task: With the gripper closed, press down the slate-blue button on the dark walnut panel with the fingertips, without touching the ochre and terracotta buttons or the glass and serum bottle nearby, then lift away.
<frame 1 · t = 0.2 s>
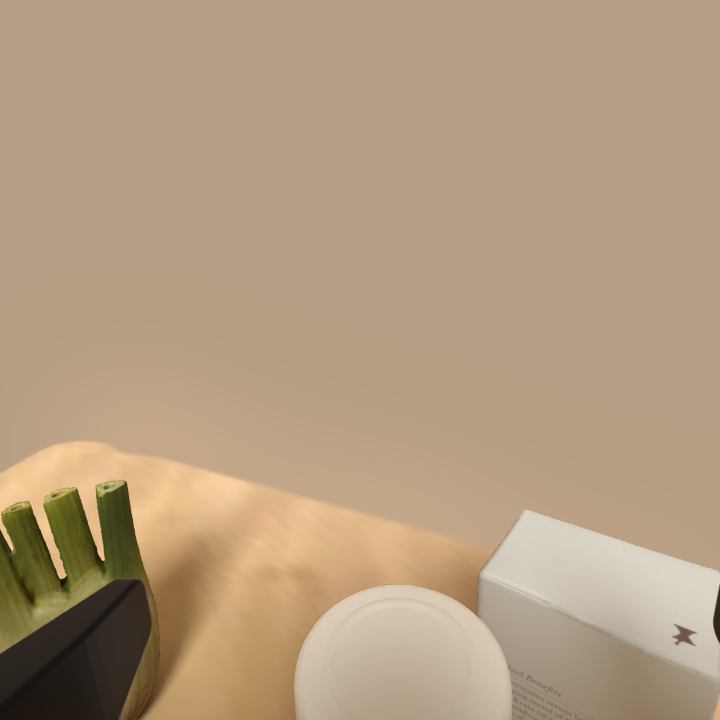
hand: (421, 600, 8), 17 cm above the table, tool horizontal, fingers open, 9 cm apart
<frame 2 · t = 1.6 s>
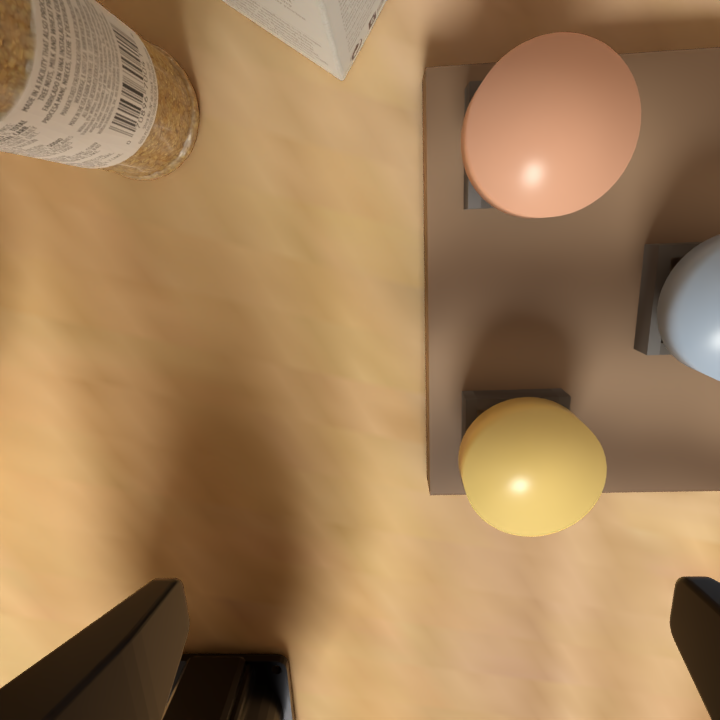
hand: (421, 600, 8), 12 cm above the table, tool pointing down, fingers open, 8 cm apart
sprinkles bottle: (144, 117, 17), on the table
terracotta button: (540, 136, 13), point 3 cm above the table, slide at 0.0 cm
board: (585, 293, 18), on the table
ochre button: (524, 459, 16), point 3 cm above the table, slide at 0.0 cm
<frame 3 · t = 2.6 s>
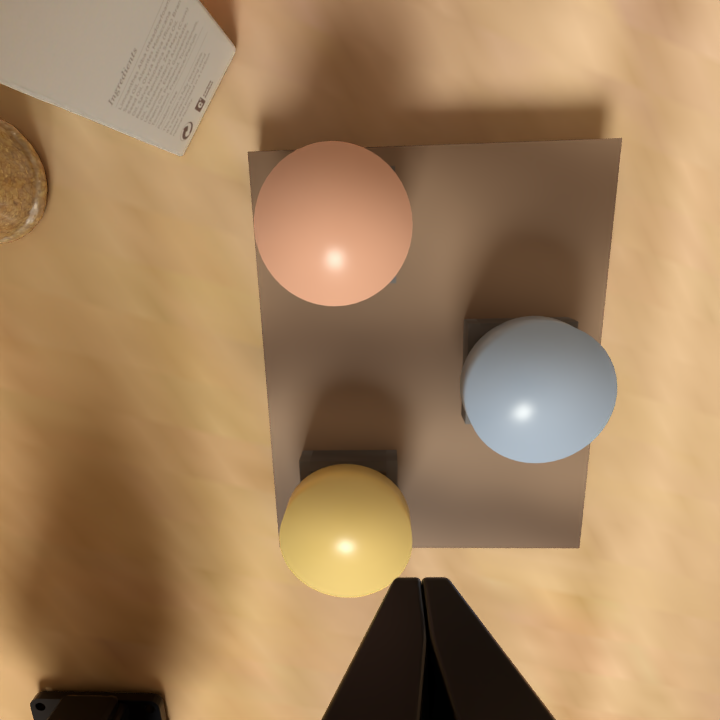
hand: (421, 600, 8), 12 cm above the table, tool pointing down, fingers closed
terracotta button: (336, 227, 14), point 3 cm above the table, slide at 0.0 cm
board: (425, 358, 19), on the table
ochre button: (347, 522, 17), point 3 cm above the table, slide at 0.0 cm
skincare box: (138, 55, 17), on the table
slate-blue button: (529, 384, 15), point 3 cm above the table, slide at 0.0 cm
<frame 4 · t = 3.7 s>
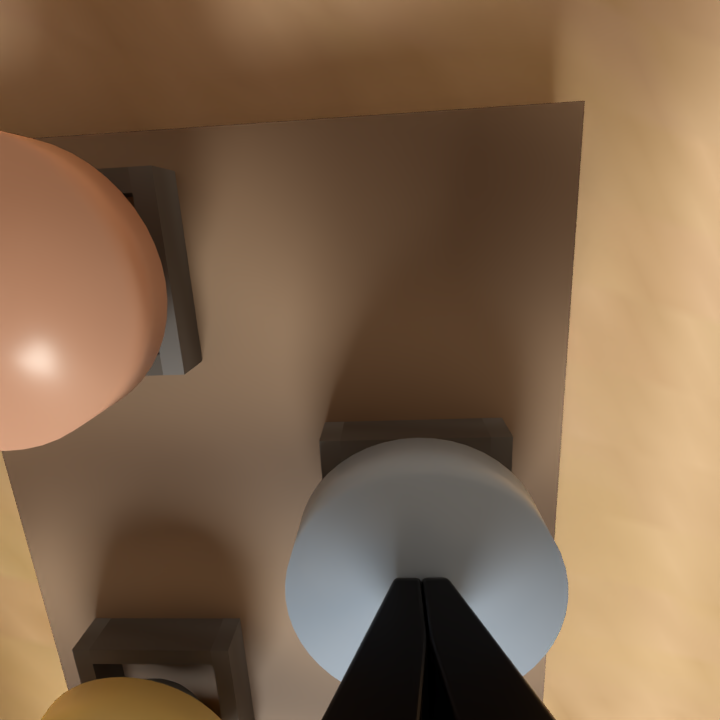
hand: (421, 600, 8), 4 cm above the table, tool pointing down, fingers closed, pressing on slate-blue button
terracotta button: (24, 288, 7), point 3 cm above the table, slide at 0.0 cm
board: (289, 466, 12), on the table
slate-blue button: (419, 552, 9), point 3 cm above the table, slide at 0.2 cm, touching gripper
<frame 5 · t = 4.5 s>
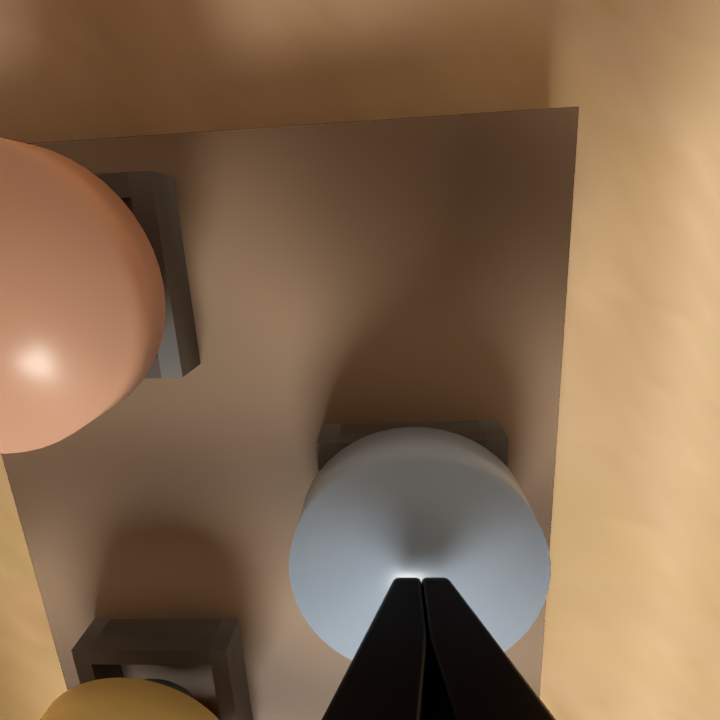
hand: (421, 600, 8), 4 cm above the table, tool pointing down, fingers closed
terracotta button: (24, 293, 7), point 4 cm above the table, slide at 0.0 cm
board: (287, 467, 12), on the table
slate-blue button: (414, 535, 9), point 3 cm above the table, slide at 0.8 cm
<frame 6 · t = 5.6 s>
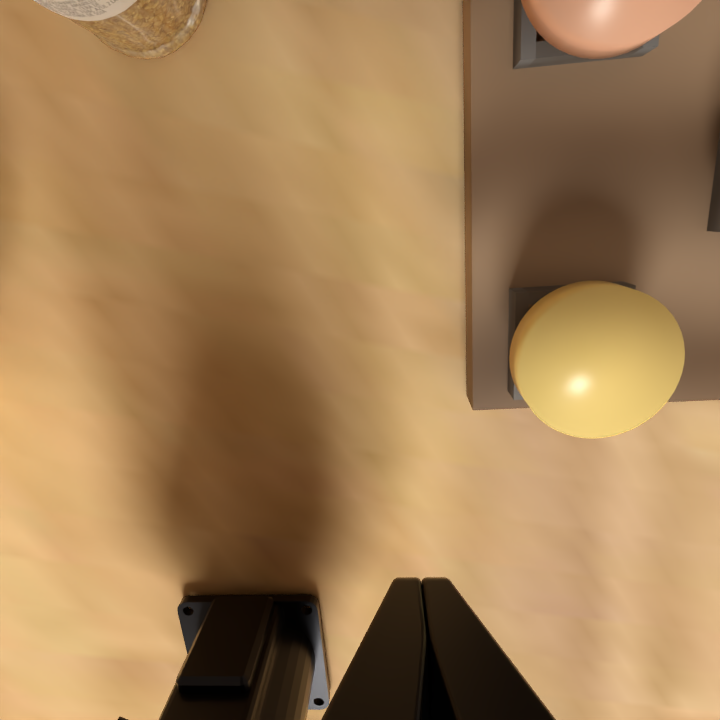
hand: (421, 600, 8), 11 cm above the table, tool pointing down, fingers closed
board: (647, 176, 16), on the table
ochre button: (585, 354, 14), point 4 cm above the table, slide at 0.0 cm
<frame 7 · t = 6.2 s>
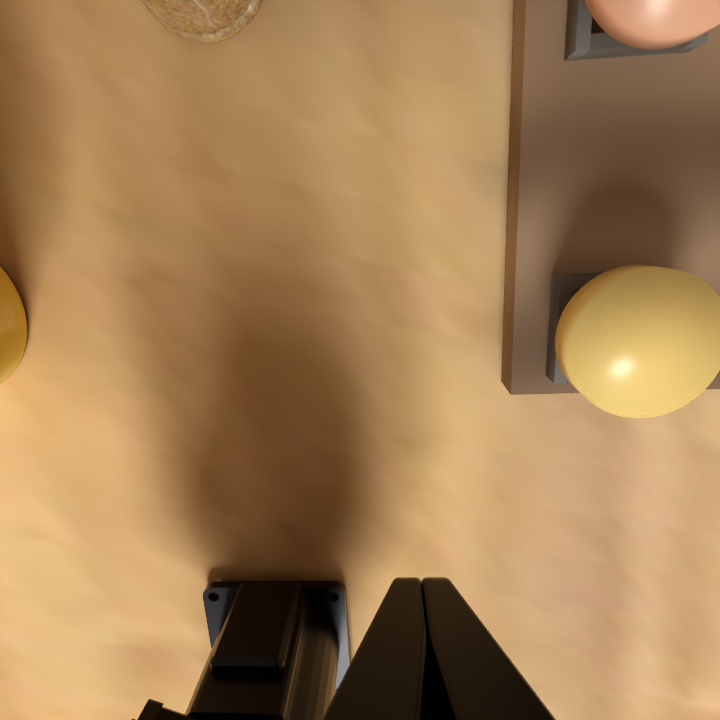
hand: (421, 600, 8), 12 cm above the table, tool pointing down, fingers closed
board: (685, 170, 17), on the table
ochre button: (629, 337, 15), point 4 cm above the table, slide at 0.0 cm
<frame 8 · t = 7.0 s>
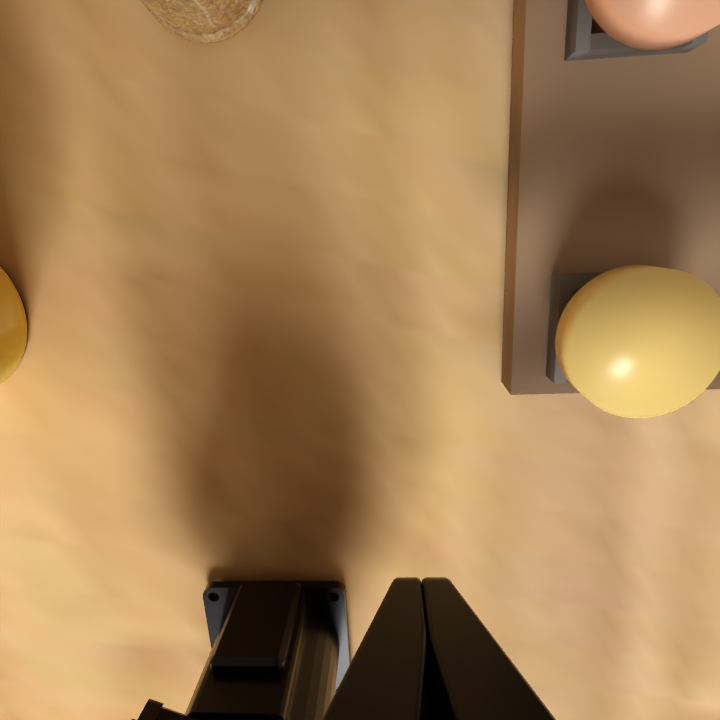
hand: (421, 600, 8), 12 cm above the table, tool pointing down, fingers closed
board: (685, 170, 17), on the table
ochre button: (629, 337, 15), point 4 cm above the table, slide at 0.0 cm
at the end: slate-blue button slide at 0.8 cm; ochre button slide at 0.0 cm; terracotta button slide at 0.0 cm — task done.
